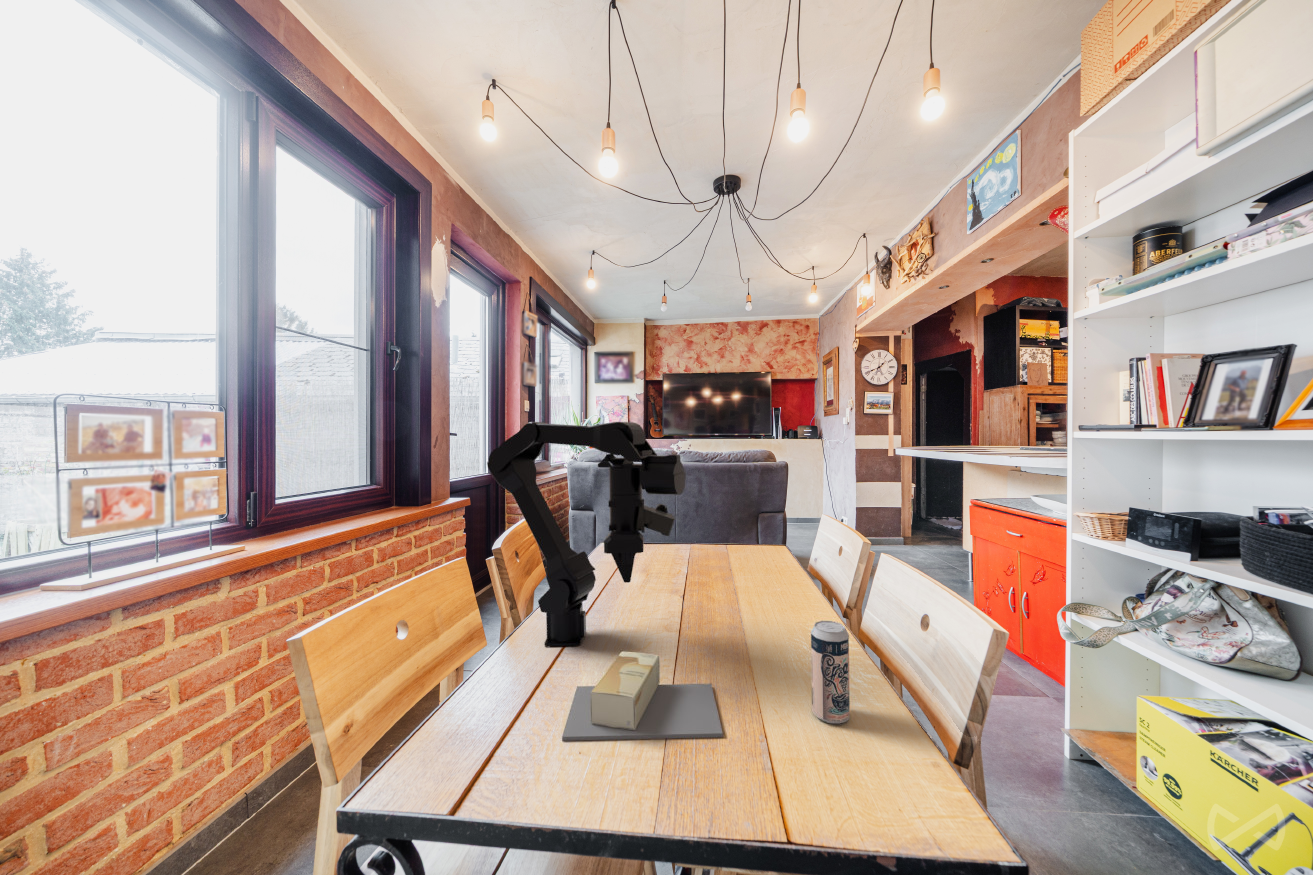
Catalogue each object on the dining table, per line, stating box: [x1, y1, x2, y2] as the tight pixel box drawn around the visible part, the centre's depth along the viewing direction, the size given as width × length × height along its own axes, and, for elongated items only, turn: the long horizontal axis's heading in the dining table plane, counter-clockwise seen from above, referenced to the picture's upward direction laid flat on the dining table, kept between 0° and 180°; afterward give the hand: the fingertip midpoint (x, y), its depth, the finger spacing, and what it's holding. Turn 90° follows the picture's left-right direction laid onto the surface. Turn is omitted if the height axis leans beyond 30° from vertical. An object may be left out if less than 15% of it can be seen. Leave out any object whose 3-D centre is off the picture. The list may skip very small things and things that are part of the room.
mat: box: [561, 683, 724, 742], centre depth 66 cm, size 20×12×1 cm, turn 91°
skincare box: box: [590, 651, 661, 730], centre depth 67 cm, size 6×4×12 cm
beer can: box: [810, 620, 851, 725], centre depth 64 cm, size 5×5×12 cm
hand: (627, 581), depth 85 cm, fingers closed
